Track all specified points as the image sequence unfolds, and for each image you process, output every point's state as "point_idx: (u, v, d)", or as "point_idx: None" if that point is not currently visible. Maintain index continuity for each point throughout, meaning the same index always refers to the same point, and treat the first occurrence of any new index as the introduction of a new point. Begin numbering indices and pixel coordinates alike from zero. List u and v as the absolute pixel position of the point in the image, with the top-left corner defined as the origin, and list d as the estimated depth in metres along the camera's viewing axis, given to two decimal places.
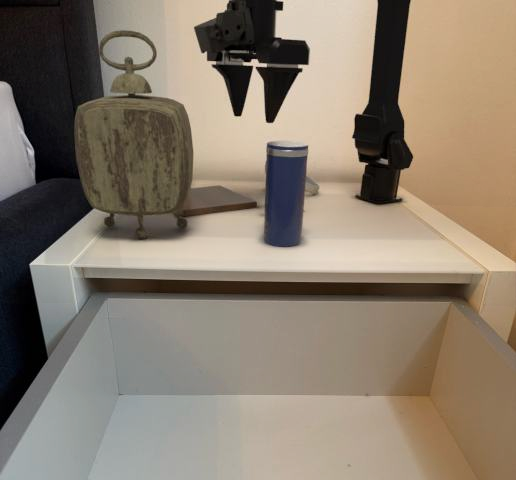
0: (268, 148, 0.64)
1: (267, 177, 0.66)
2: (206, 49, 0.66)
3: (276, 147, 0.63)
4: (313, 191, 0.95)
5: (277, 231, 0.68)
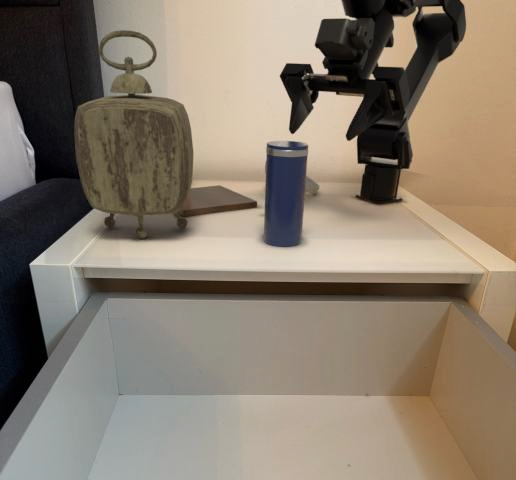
0: (268, 148, 0.64)
1: (267, 177, 0.66)
2: (330, 39, 0.65)
3: (276, 147, 0.63)
4: (313, 191, 0.95)
5: (277, 231, 0.68)
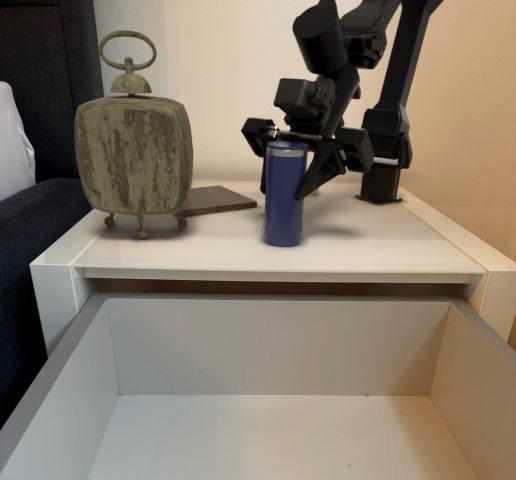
0: (268, 148, 0.64)
1: (267, 177, 0.66)
2: (288, 100, 0.62)
3: (276, 147, 0.63)
4: (313, 191, 0.95)
5: (277, 231, 0.68)
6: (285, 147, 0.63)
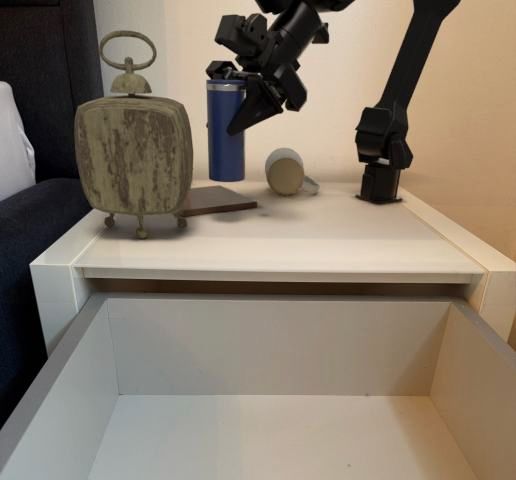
0: (206, 83, 0.68)
1: (207, 112, 0.70)
2: (222, 35, 0.65)
3: (209, 81, 0.67)
4: (313, 191, 0.95)
5: (214, 166, 0.72)
6: (215, 81, 0.66)
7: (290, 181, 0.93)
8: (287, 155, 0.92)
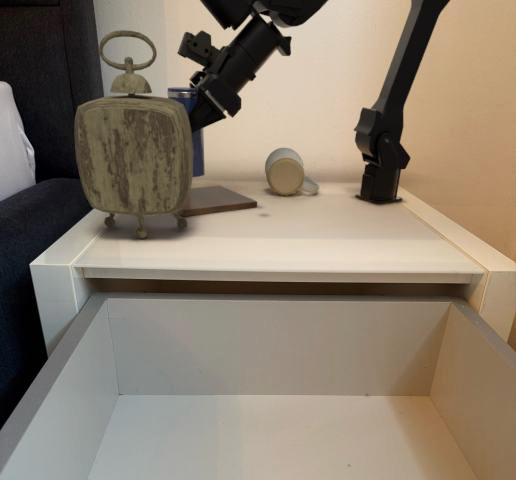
0: None
1: None
2: (179, 50, 0.75)
3: None
4: (313, 191, 0.95)
5: None
6: (170, 89, 0.77)
7: (290, 181, 0.93)
8: (287, 155, 0.92)
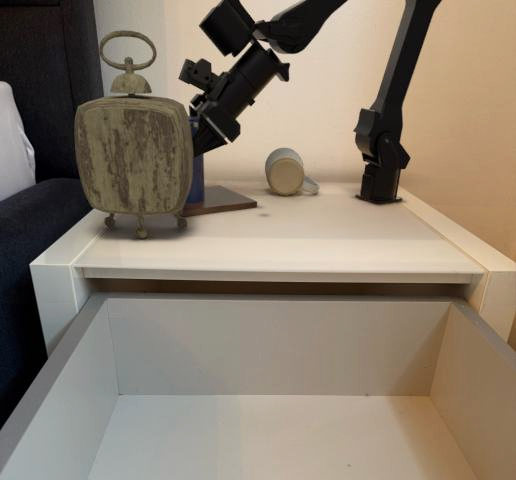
0: None
1: None
2: (180, 76, 0.77)
3: None
4: (313, 191, 0.95)
5: None
6: None
7: (290, 181, 0.93)
8: (287, 155, 0.92)
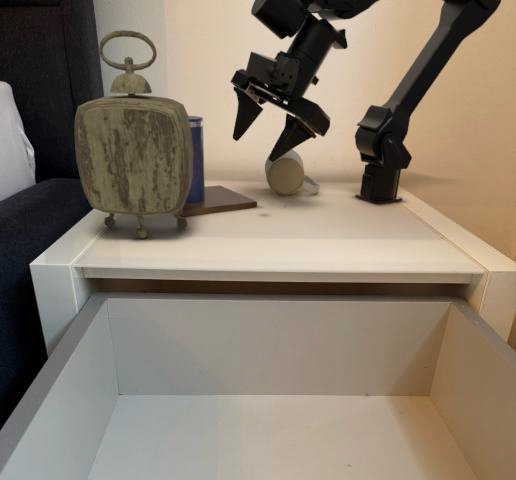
0: None
1: None
2: (254, 75, 0.74)
3: None
4: (313, 191, 0.95)
5: None
6: None
7: (290, 181, 0.93)
8: (287, 155, 0.92)
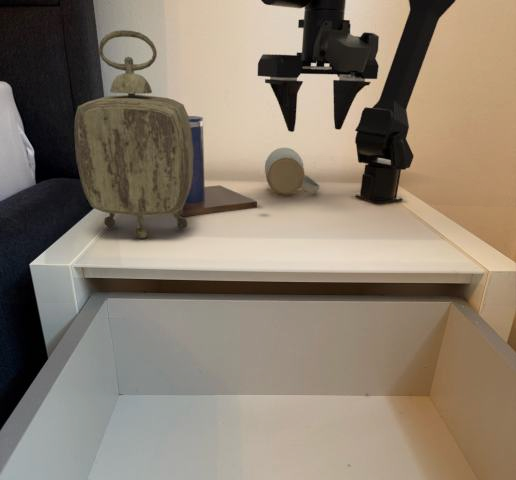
0: None
1: None
2: (355, 68, 0.69)
3: None
4: (313, 191, 0.95)
5: None
6: None
7: (290, 181, 0.93)
8: (287, 155, 0.92)
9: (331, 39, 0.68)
